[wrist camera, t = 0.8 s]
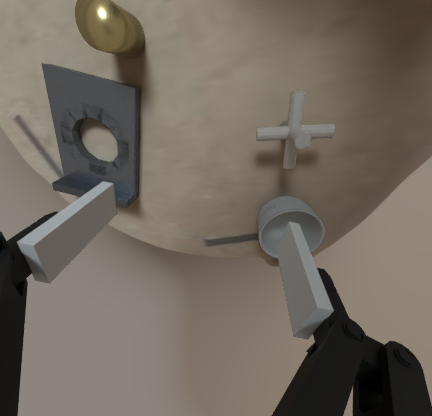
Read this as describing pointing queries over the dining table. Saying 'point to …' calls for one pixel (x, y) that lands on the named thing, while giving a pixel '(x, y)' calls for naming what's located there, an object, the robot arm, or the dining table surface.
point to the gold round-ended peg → (109, 27)
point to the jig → (110, 116)
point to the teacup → (278, 219)
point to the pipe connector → (295, 130)
